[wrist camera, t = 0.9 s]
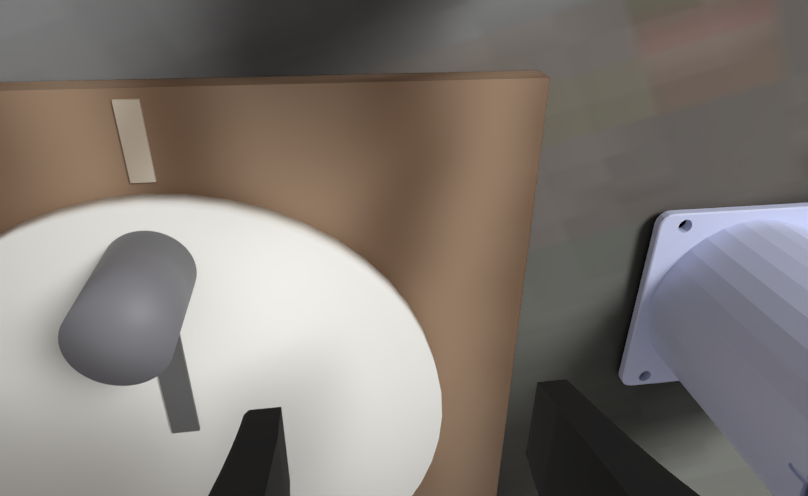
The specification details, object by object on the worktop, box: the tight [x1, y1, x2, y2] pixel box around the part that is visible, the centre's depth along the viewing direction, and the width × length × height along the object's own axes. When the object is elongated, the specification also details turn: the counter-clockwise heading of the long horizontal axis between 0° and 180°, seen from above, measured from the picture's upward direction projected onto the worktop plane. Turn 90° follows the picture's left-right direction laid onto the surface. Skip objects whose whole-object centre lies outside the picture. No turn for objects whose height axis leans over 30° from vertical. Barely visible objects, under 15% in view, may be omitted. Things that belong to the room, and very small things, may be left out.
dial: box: [0, 194, 442, 496], centre depth 20 cm, size 18×18×4 cm
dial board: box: [0, 71, 550, 496], centre depth 22 cm, size 24×24×1 cm
